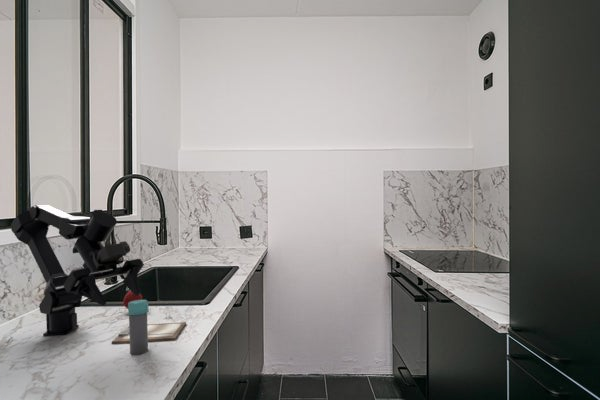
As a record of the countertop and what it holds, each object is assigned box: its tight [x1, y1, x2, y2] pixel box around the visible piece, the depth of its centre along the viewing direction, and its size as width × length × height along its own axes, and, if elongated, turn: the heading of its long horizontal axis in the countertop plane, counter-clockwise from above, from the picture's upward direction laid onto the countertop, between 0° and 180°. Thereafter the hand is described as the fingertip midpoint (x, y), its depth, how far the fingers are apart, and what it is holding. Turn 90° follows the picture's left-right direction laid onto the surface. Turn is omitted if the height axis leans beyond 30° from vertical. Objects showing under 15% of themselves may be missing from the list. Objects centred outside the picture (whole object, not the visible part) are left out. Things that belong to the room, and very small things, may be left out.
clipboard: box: [111, 321, 187, 345], centre depth 98 cm, size 16×12×1 cm
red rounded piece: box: [122, 289, 143, 310], centre depth 119 cm, size 6×6×8 cm
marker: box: [127, 299, 149, 356], centre depth 86 cm, size 4×4×12 cm
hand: (122, 299), depth 89 cm, fingers open, 9 cm apart
